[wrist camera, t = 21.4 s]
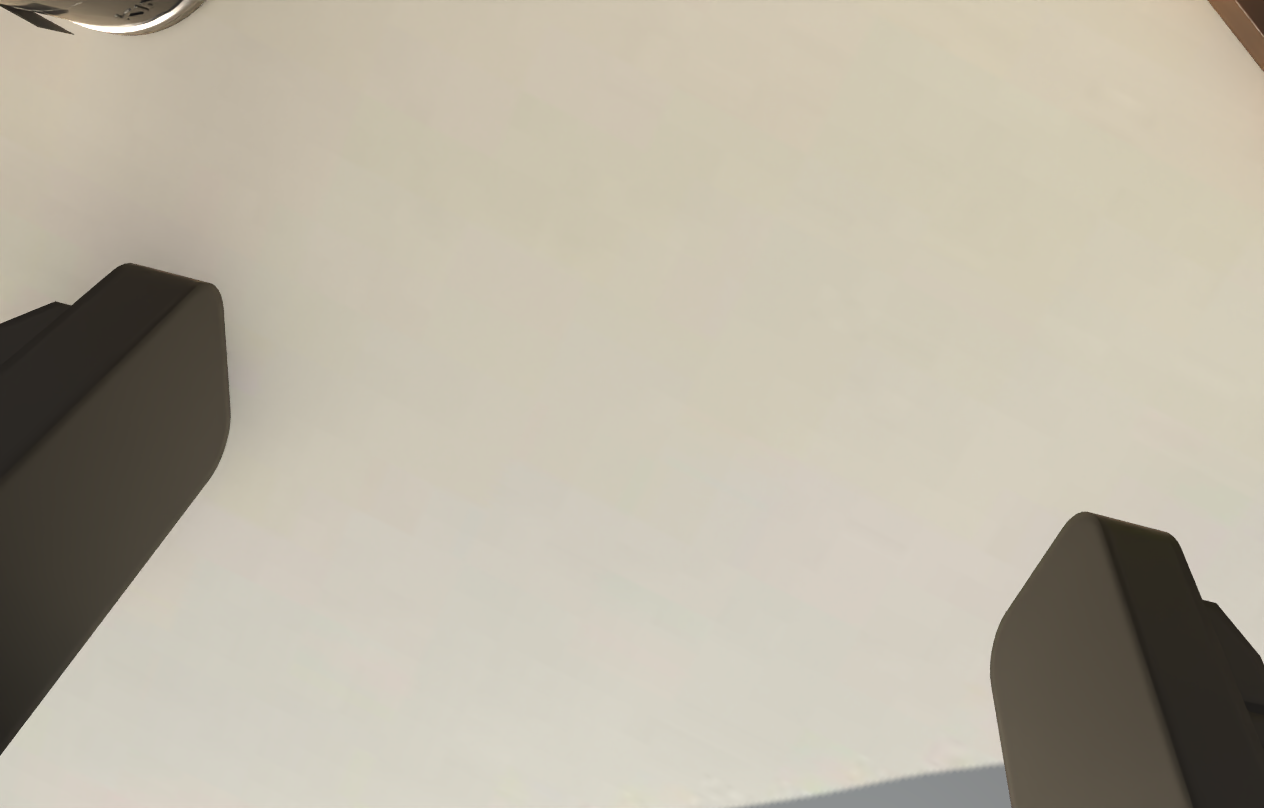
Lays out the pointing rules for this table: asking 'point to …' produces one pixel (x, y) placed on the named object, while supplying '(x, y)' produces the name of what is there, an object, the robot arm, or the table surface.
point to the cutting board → (1245, 24)
